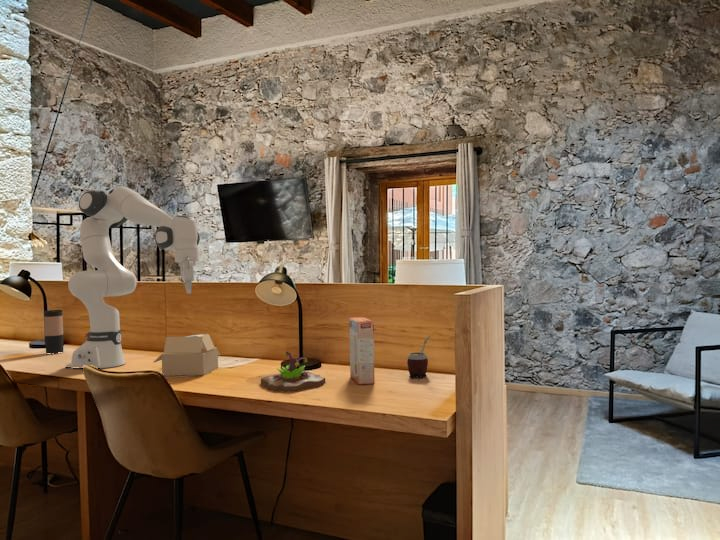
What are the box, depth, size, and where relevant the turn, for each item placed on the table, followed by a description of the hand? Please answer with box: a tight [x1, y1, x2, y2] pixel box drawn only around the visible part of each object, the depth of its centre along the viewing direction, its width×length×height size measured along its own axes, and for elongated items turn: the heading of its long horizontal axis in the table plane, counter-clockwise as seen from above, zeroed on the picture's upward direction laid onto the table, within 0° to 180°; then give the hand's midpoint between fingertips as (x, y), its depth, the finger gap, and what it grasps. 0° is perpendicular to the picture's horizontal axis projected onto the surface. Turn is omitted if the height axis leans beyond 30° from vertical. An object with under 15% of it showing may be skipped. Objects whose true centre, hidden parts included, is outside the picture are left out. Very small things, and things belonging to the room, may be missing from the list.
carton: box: [153, 346, 221, 377], centre depth 214 cm, size 21×19×8 cm
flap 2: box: [200, 333, 216, 351], centre depth 210 cm, size 1×7×6 cm, turn 172°
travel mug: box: [43, 309, 64, 353], centre depth 263 cm, size 8×8×20 cm
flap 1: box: [163, 336, 203, 353], centre depth 205 cm, size 14×1×6 cm, turn 82°
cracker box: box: [348, 316, 376, 385], centre depth 190 cm, size 14×6×21 cm, turn 12°
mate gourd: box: [407, 334, 434, 379], centre depth 193 cm, size 8×8×15 cm
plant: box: [260, 351, 326, 393], centre depth 187 cm, size 20×20×11 cm
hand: (188, 293), depth 215 cm, fingers open, 8 cm apart
